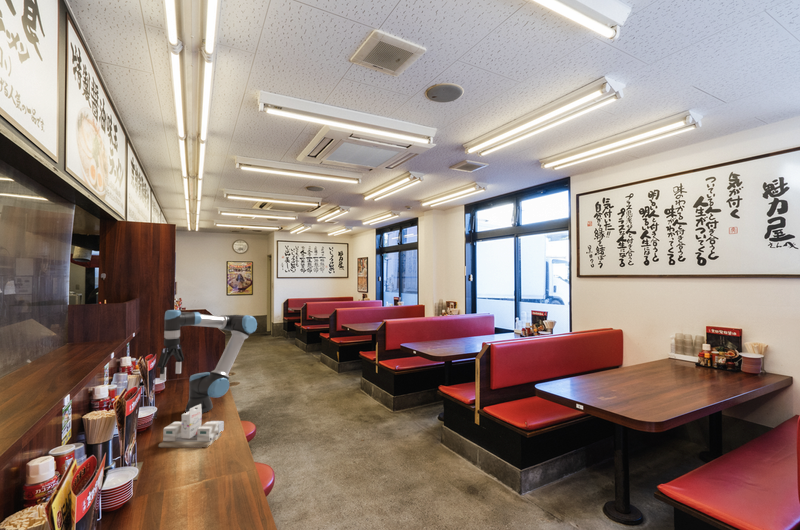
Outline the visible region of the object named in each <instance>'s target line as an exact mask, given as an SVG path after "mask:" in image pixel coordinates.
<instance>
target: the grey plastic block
mask: <svg viewBox="0 0 800 530" xmlns="http://www.w3.org/2000/svg"><path fill="white" fill-rule="evenodd" d="M210 422H219V424H218V433H220V432H221V431H222V432H223V431H224V430H225V429H224V428H225V422H224V420H210ZM222 432H221V433H222Z"/></svg>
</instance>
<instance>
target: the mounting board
mask: <svg viewBox="0 0 800 530" xmlns="http://www.w3.org/2000/svg"><path fill="white" fill-rule="evenodd" d="M218 424H219V422H211V421H206V422H205V423H203V424H201V426H200V427H199V428H198V429H197V435H195V436H193V437H191V438H189V439H188V438H181V428H182V421H173V422H172V423H170V424H169V425H167V426H165V427H163V431H162V432H163V434H162V435H163V436H162V437H163V439H162V442H160V443H159V444H158V448H202V447H207V448H209V447H210V446H211V445H212V444H214V443H215V442H216V441H217V440H218V439H220V437H222V435H223V434H222V432H221V433H218ZM215 440H216V441H215ZM214 441H215V442H214ZM209 445H210V446H209ZM208 446H209V447H208Z"/></svg>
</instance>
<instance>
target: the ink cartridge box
mask: <svg viewBox="0 0 800 530" xmlns="http://www.w3.org/2000/svg"><path fill="white" fill-rule="evenodd" d="M195 408H197V409H195ZM202 416H203V413H202V409H201V404H199V405H197V406H194V407H192V408H190V409H189V411H188V412H186V413H185V412H184V413H182V414H181V422H182V428H181V438H188V439H189V438H191V437H193V436H195V435H197V429H198V428H199V427H200V426H202V422H203V421H202Z"/></svg>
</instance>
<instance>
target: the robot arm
mask: <svg viewBox="0 0 800 530" xmlns="http://www.w3.org/2000/svg"><path fill="white" fill-rule="evenodd" d="M186 326H192V327H193V326H194V327H208V328H218V329H219V330H224V331H228V332H231V337H230V338H229V340H228V342H227V344H226V346H225V348H224V350H223V353H222V354H221V357H220V359H219V361H218V362H217V364H216V366H215V368H214V369H213V370H211V371H210V372H209V371H205V372H199V373H195V374H192V375H190V377H189V387H188V388H189V390H188V402H187V404H186V407H185V412H188V411H189V409H190V408H192V407H194V406H197V405H199V404H201V409H202V414H204V412H205V413H208V412H210V411H209V410H211V409H212V408H214V407H213V402H212V399H211V398H221V397H223V396H224V395H225V394H226V393H227V392H228V391H229V389H230V381H229V380H230V376H229V373H230V371H231V370H232V367H233V365H234V363H235V360H236V359H237V356H238V355H239V352H240V351H241V348H242V346H243V344H244V342H245V340H246V339H248V338H249V336H250V335H251V334H253V333H255V332H256V330H257V328H258V327H257V326H258V322H257V319H256V317H254V316H253V315H249V314H246V315H245V314H227V315H226V314H221V315H212V314H204V313H203V314H202V313H200V312H199V311H192V312H190V311H181V310H180V309H167V310H166V311H165V313H164V332H163V334H164V335H163V338H164V339H163V346H165V348H162V349H161V353H160V357H159V358H158V359H159V360H158V363H157V365H156V368H159V381H166V380H167V363H168V361H169V360H170V358H171V357H172V356H173V357H174V359H175V361H176V362H175V375H176V374H178V375H180V374H182V362H185V361H184V360H185V356H184V353H183V350H182V344H181V338H180V337H181V327H186ZM195 409H197V408H195ZM212 410H213V409H212ZM212 410H211V411H212ZM207 411H208V412H207ZM185 412H184V413H185Z"/></svg>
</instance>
